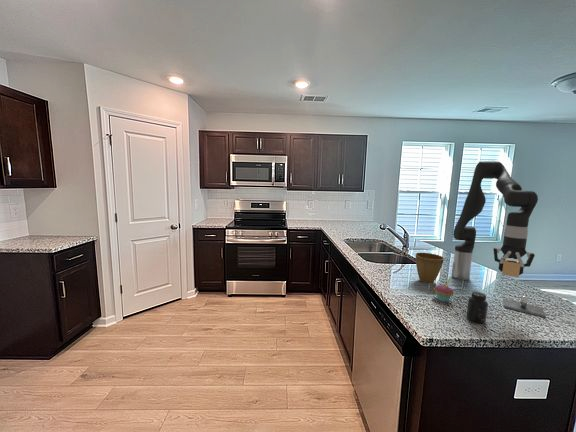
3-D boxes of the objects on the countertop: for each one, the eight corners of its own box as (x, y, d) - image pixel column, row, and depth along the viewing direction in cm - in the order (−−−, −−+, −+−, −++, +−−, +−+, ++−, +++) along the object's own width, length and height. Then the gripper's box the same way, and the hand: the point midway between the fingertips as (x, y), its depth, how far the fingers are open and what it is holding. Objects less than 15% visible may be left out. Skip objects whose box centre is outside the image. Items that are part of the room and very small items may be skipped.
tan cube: (502, 274, 111) (503, 261, 111) (501, 271, 116) (503, 258, 115) (518, 277, 108) (520, 264, 107) (517, 274, 112) (519, 261, 111)
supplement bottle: (462, 316, 110) (465, 290, 109) (476, 316, 111) (479, 290, 109) (474, 325, 103) (478, 297, 102) (490, 324, 104) (493, 297, 102)
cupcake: (450, 297, 129) (452, 275, 128) (455, 304, 121) (457, 281, 120) (431, 294, 132) (433, 272, 131) (435, 301, 124) (437, 278, 123)
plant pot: (414, 283, 146) (416, 257, 144) (412, 275, 160) (414, 251, 158) (443, 288, 141) (446, 260, 139) (438, 279, 155) (441, 254, 153)
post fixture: (504, 307, 119) (505, 295, 119) (503, 300, 127) (504, 289, 126) (545, 317, 111) (547, 304, 110) (541, 309, 118) (543, 297, 118)
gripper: (494, 234, 111) (489, 271, 113) (539, 239, 102) (533, 279, 104) (494, 232, 117) (489, 267, 119) (536, 237, 108) (531, 274, 110)
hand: (510, 272), depth 112 cm, fingers closed on tan cube, 5 cm apart
